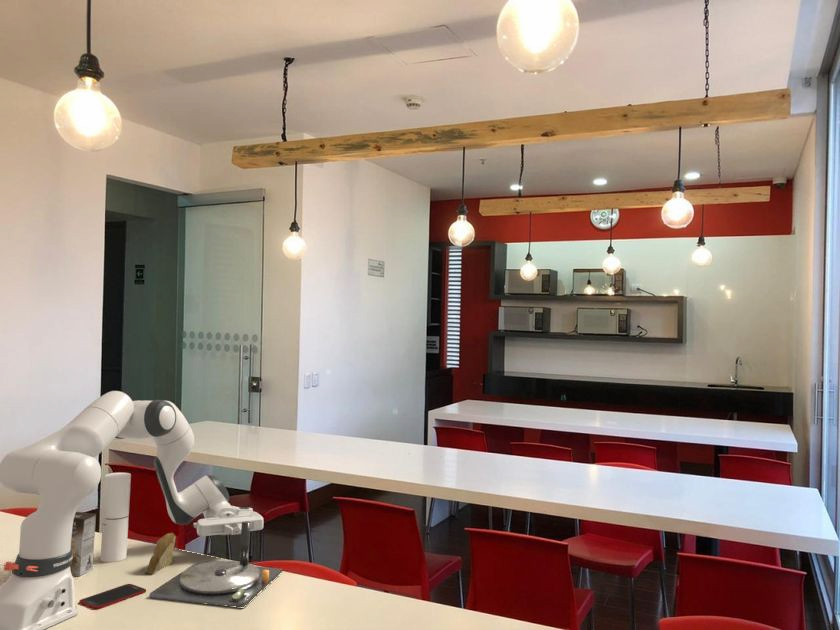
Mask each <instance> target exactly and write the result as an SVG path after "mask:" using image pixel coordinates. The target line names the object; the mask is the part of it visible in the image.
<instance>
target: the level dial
mask: <svg viewBox="0 0 840 630" xmlns="http://www.w3.org/2000/svg"><path fill="white" fill-rule="evenodd" d="M250 536H251V531H250V522H249V521H244V522H242V528H241V534H240V554H239V561H238V560H215V561H210V562H207V563H202V564H198V565H195V566H192V565H191V566H192V567H191V566H189V567H190V568H189V567H187V568H188V569H187V568H186V569H185V571H184V570H183V571H181V572H182V573H181V572H180V573H181V575H180V585H181V587H182V588H184V589H186V590H188V591H191V592H195V593H201V594H223V593H231V592H236V591H239V590H240V589H246V588H248V587H251V586H252V585H254V584H255V583H256V582H257V581H258V580H259V569H258V568H257V567H256V566H257V565H254V564H251V563H250V562H249V557H250V538H251V537H250Z"/></svg>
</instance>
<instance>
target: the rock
mask: <svg viewBox="0 0 840 630" xmlns="http://www.w3.org/2000/svg"><path fill="white" fill-rule="evenodd" d="M176 539H177V537H176V534H175V533H173V532H169V533H166V534H164V535H163V536H161V537H160V538H159V539H158V540H157V541H156V542H155V543H156V545H155V549H154V551H153V555H152V556H151V558H150V560H149V563H148V566H147V567H146V570H145V573H146V574H148V575H154V574H156V573H158V572H159V570H160V569H161V570H163V569H162V568H164V567H165V568H167V567H168V566H170V565H171V564H172V563H173V554H174V548H175V543H176ZM166 566H167V567H166ZM165 568H164V569H165ZM161 570H160V571H161ZM157 571H158V572H157Z"/></svg>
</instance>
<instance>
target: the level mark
mask: <svg viewBox="0 0 840 630" xmlns="http://www.w3.org/2000/svg"><path fill="white" fill-rule="evenodd" d="M268 582H269V570H263V571H262V583H268Z"/></svg>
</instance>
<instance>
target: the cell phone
mask: <svg viewBox="0 0 840 630" xmlns="http://www.w3.org/2000/svg"><path fill="white" fill-rule="evenodd" d="M146 592H147V589H146V588H144V587H142V586H141V587H140V586H138V585H135V584H133V583H126V584H123V585H119V586H117V587H115V588H111V589H107V590H105V591H103V592H99V593H96V594H93V595H90V596H87V597H84V598H81V599H80V600H79V601H78V604H80V605H82V606H84V607H87V608H89V609H92V610H94V611H98V610H101V609H103V608H107V607H109V606H113V605H116V604H118V603H120V602H123V601H126V600H129V599H131V598H134V597H137V596H140V595H142V594H145V593H146Z"/></svg>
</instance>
